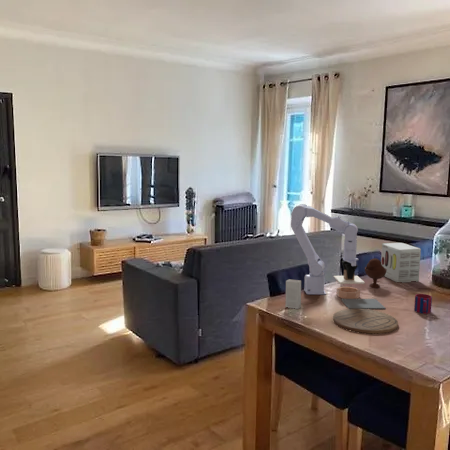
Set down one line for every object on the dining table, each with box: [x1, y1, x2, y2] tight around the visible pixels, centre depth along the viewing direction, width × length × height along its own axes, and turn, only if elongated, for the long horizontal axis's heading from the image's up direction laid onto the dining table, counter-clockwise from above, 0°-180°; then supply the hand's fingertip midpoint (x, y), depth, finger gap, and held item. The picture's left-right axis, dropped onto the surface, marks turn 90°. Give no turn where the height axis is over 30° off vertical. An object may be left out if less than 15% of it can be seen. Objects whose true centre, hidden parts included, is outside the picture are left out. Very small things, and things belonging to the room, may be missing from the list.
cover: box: [333, 269, 366, 285], centre depth 220 cm, size 12×12×5 cm
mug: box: [413, 293, 433, 315], centre depth 198 cm, size 7×10×7 cm
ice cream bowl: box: [364, 258, 387, 289], centre depth 236 cm, size 11×11×15 cm
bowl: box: [336, 286, 361, 299], centre depth 222 cm, size 10×10×3 cm
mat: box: [340, 298, 386, 310], centre depth 209 cm, size 16×13×1 cm
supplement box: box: [380, 242, 422, 283], centre depth 253 cm, size 17×13×18 cm
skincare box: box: [285, 278, 302, 310], centre depth 204 cm, size 6×4×12 cm
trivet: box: [332, 308, 399, 335], centre depth 187 cm, size 25×25×2 cm
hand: (348, 277), depth 221 cm, fingers closed on cover, 4 cm apart
